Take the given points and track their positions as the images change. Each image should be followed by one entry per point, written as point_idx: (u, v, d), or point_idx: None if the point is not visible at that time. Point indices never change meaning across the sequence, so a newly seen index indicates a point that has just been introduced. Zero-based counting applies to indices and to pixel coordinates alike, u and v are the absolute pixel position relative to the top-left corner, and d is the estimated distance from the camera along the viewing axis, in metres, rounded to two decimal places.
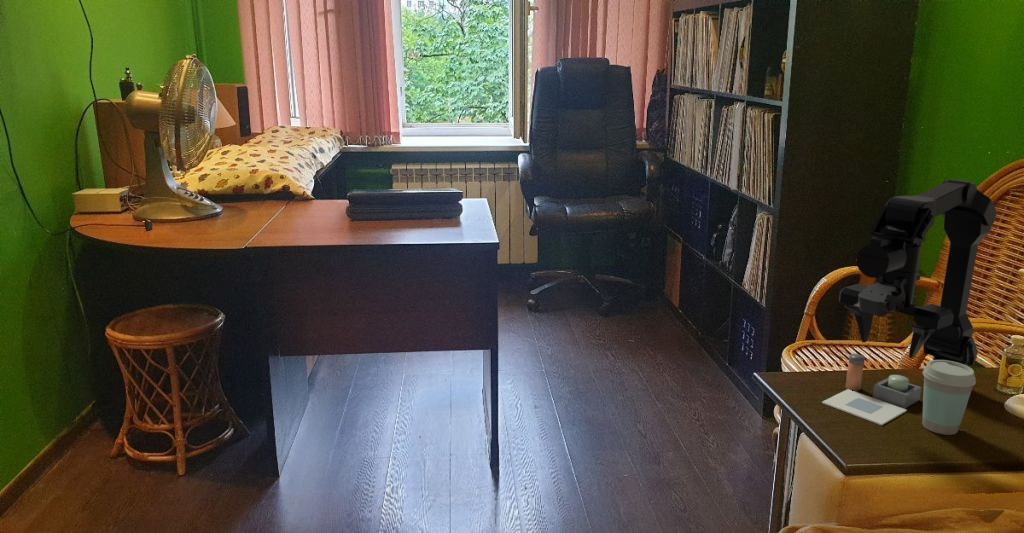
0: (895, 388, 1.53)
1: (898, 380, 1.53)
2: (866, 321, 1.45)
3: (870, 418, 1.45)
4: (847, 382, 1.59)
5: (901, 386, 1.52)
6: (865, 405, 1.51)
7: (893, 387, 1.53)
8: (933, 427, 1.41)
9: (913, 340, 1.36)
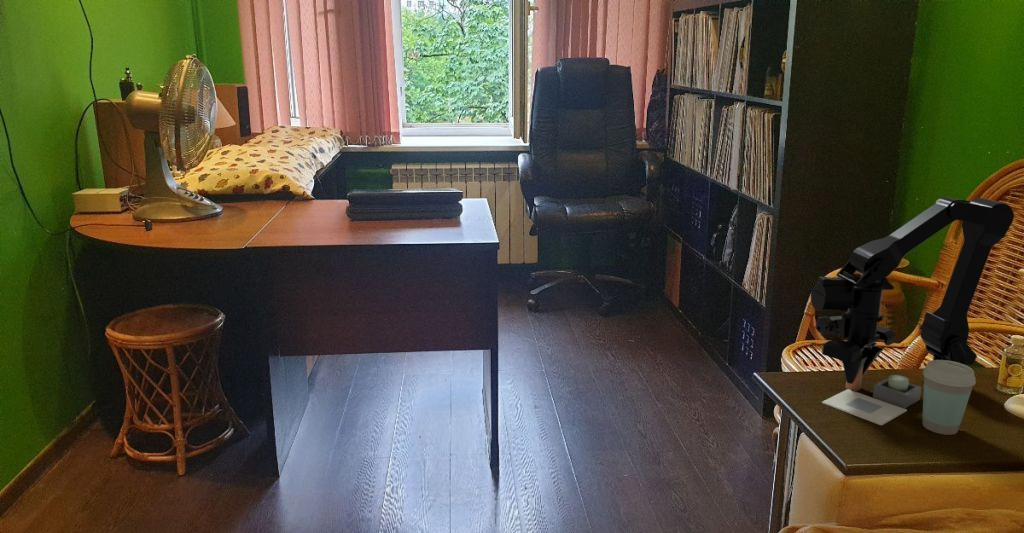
0: (895, 388, 1.53)
1: (898, 380, 1.53)
2: None
3: (870, 418, 1.45)
4: (847, 382, 1.59)
5: (901, 386, 1.52)
6: (865, 405, 1.51)
7: (893, 387, 1.53)
8: (933, 427, 1.41)
9: None
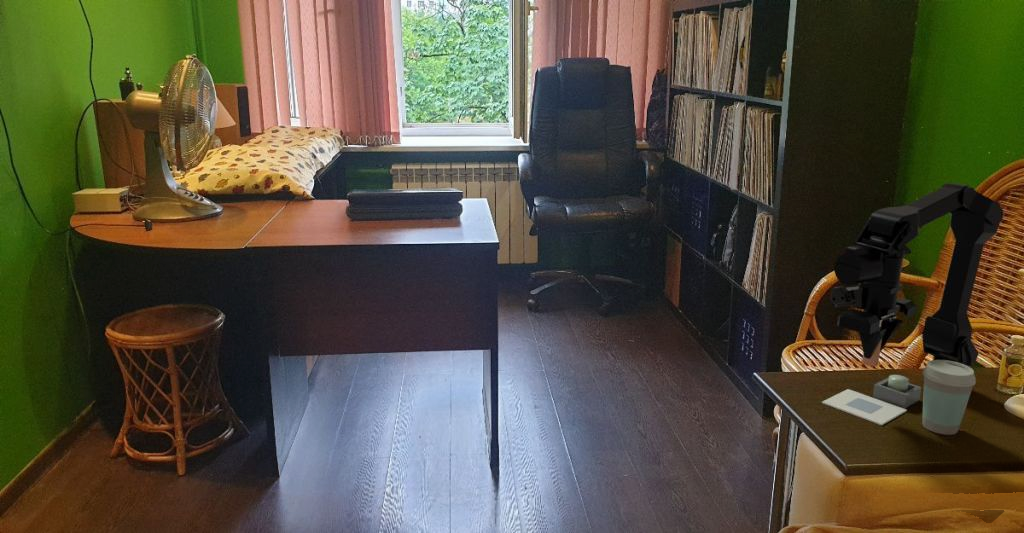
0: (895, 388, 1.53)
1: (898, 380, 1.53)
2: None
3: (870, 418, 1.45)
4: (864, 357, 1.48)
5: (901, 386, 1.52)
6: (865, 405, 1.51)
7: (893, 387, 1.53)
8: (933, 427, 1.41)
9: None
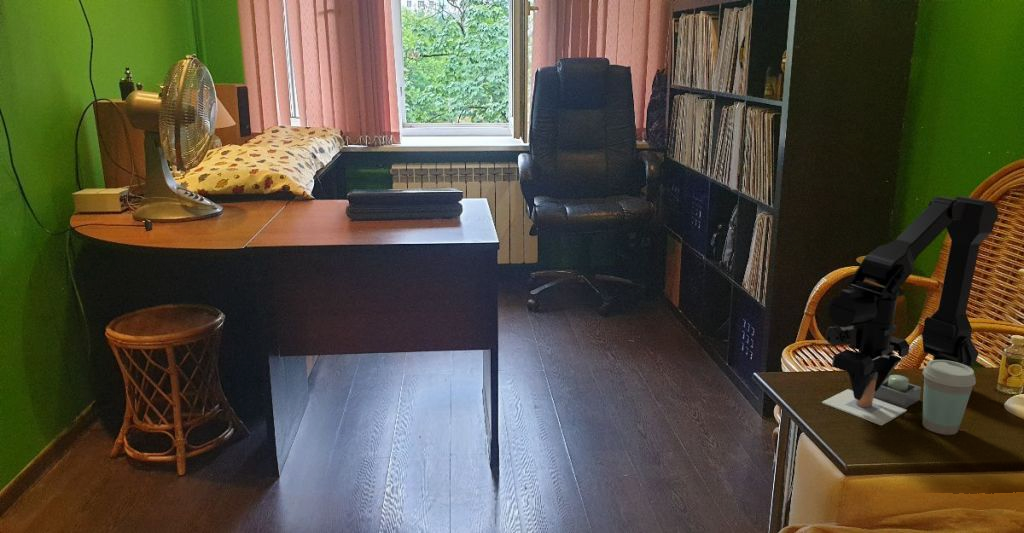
0: (895, 388, 1.53)
1: (898, 380, 1.53)
2: (877, 371, 1.51)
3: (870, 418, 1.45)
4: None
5: (901, 386, 1.52)
6: None
7: (893, 387, 1.53)
8: (933, 427, 1.41)
9: None
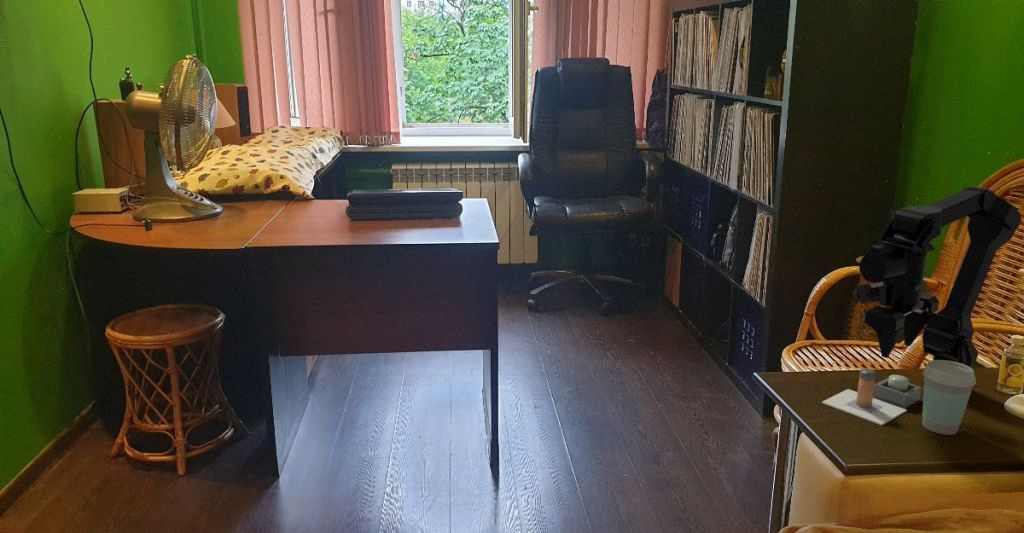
0: (895, 388, 1.53)
1: (898, 380, 1.53)
2: (910, 326, 1.53)
3: (870, 418, 1.45)
4: (858, 399, 1.50)
5: (901, 386, 1.52)
6: None
7: (893, 387, 1.53)
8: (933, 427, 1.41)
9: None
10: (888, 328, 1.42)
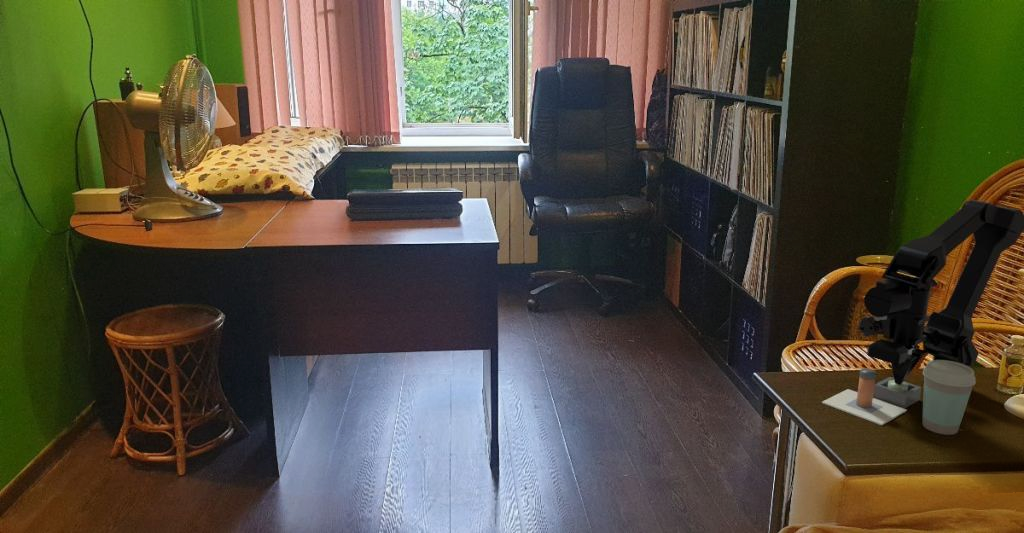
0: None
1: (897, 385, 1.53)
2: None
3: (870, 418, 1.45)
4: (858, 399, 1.50)
5: None
6: None
7: None
8: (933, 427, 1.41)
9: None
10: (891, 362, 1.45)
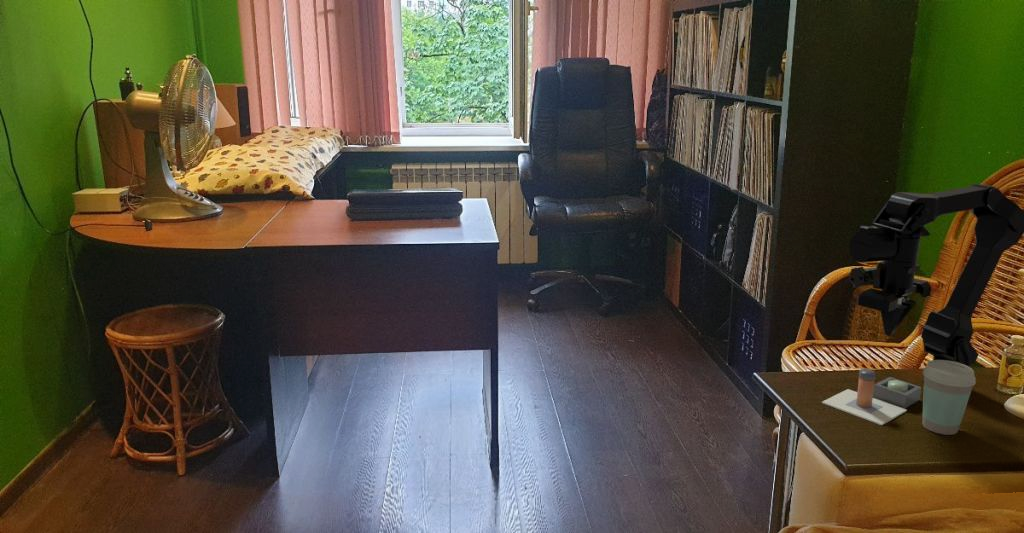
0: None
1: (897, 385, 1.53)
2: None
3: (870, 418, 1.45)
4: (858, 399, 1.50)
5: None
6: None
7: None
8: (933, 427, 1.41)
9: None
10: (881, 309, 1.44)
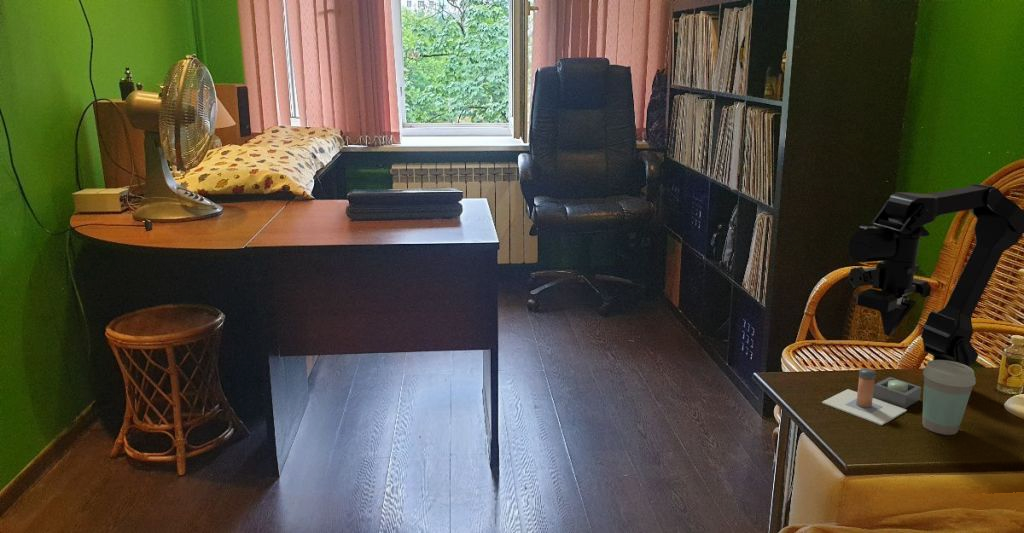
0: None
1: (897, 385, 1.53)
2: None
3: (870, 418, 1.45)
4: (859, 399, 1.50)
5: None
6: None
7: None
8: (933, 427, 1.41)
9: None
10: (880, 309, 1.44)
